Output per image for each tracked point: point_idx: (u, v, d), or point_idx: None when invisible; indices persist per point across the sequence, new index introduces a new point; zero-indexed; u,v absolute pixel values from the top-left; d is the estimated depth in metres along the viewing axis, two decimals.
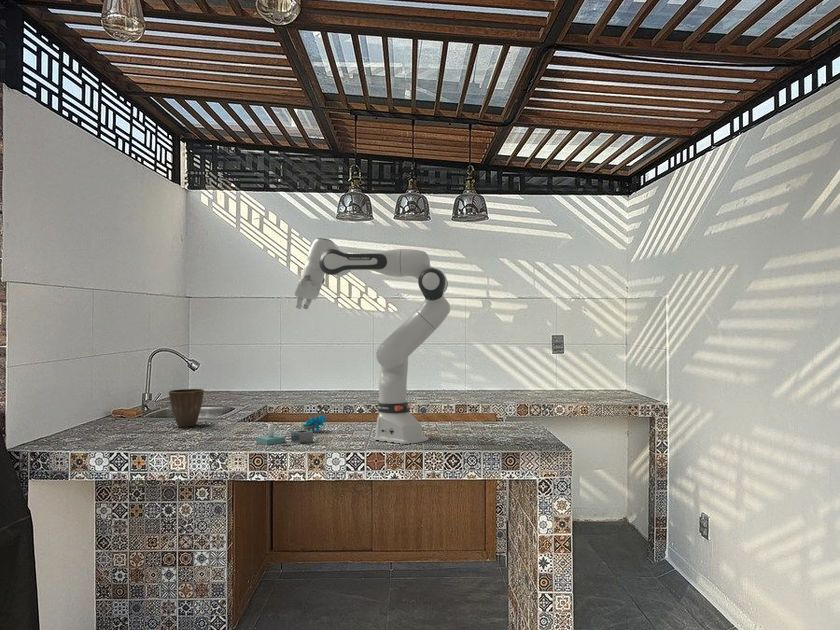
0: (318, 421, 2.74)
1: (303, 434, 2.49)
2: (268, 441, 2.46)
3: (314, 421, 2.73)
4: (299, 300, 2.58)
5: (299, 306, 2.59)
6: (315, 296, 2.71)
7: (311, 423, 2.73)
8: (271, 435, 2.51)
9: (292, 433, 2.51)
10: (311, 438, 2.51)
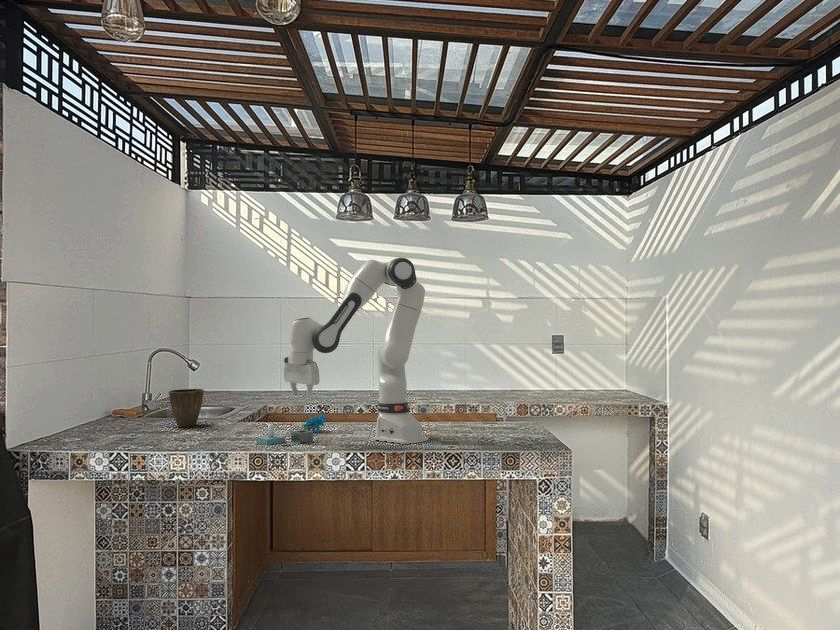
0: (318, 421, 2.74)
1: (303, 434, 2.49)
2: (268, 441, 2.46)
3: (314, 421, 2.73)
4: (310, 387, 2.47)
5: (310, 393, 2.48)
6: None
7: (311, 423, 2.73)
8: (271, 435, 2.51)
9: (292, 433, 2.51)
10: (311, 438, 2.51)
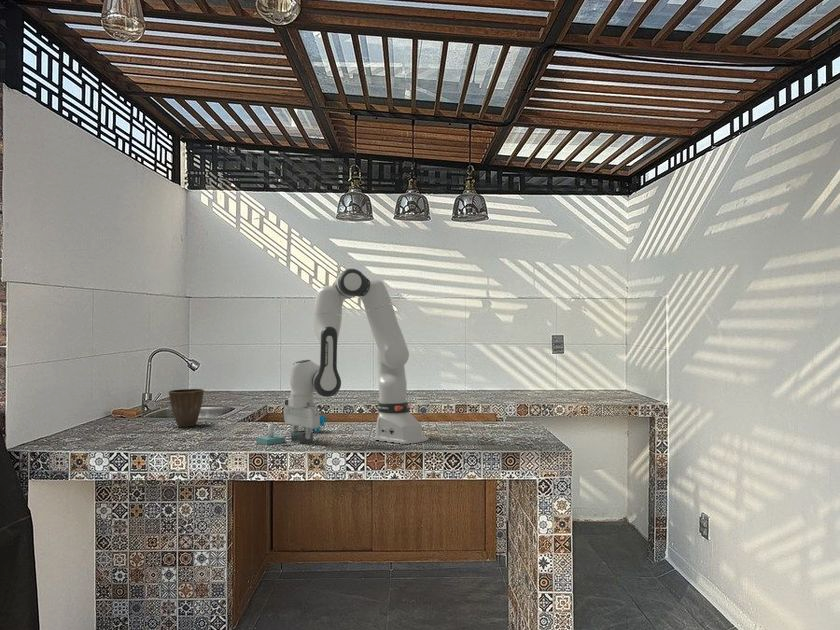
0: None
1: (303, 434, 2.49)
2: (268, 441, 2.46)
3: None
4: (309, 430, 2.48)
5: (309, 436, 2.49)
6: None
7: None
8: (271, 435, 2.51)
9: (292, 433, 2.51)
10: (311, 438, 2.51)
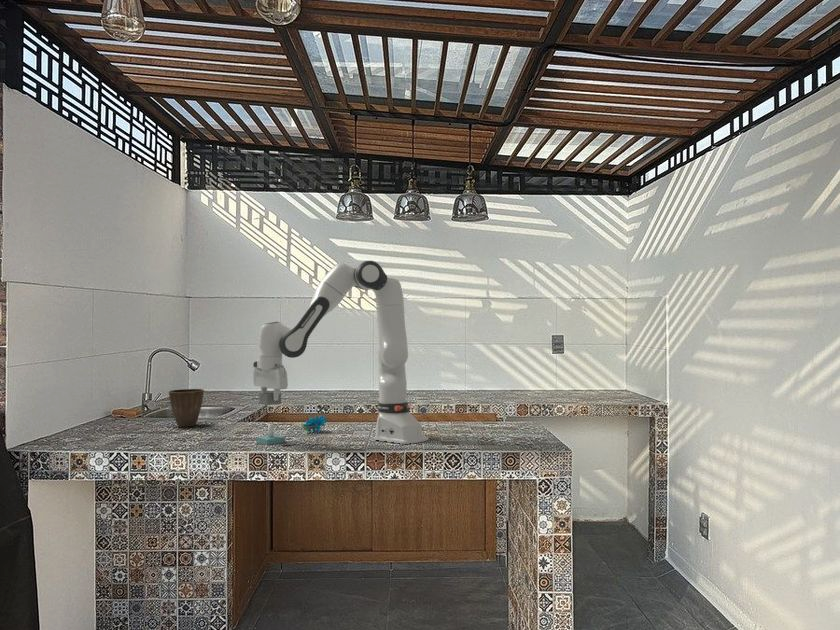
0: (318, 421, 2.74)
1: (271, 395, 2.49)
2: (268, 441, 2.46)
3: (314, 421, 2.72)
4: (277, 392, 2.48)
5: (277, 397, 2.49)
6: None
7: (311, 423, 2.72)
8: (271, 435, 2.51)
9: (260, 395, 2.51)
10: (279, 400, 2.51)
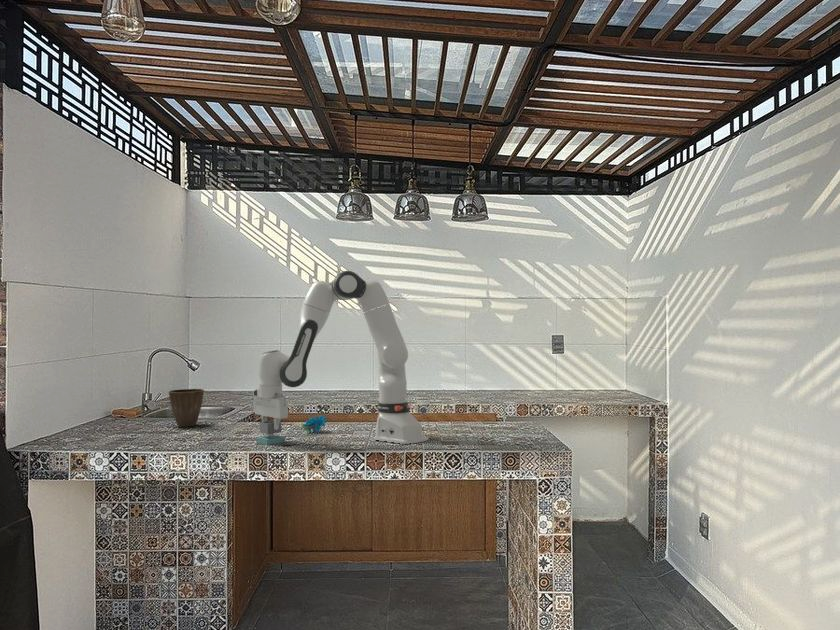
0: (318, 421, 2.74)
1: (271, 424, 2.49)
2: (268, 441, 2.46)
3: (314, 421, 2.72)
4: (277, 421, 2.48)
5: (277, 426, 2.49)
6: None
7: (311, 423, 2.72)
8: (271, 435, 2.51)
9: (260, 423, 2.51)
10: (279, 428, 2.51)
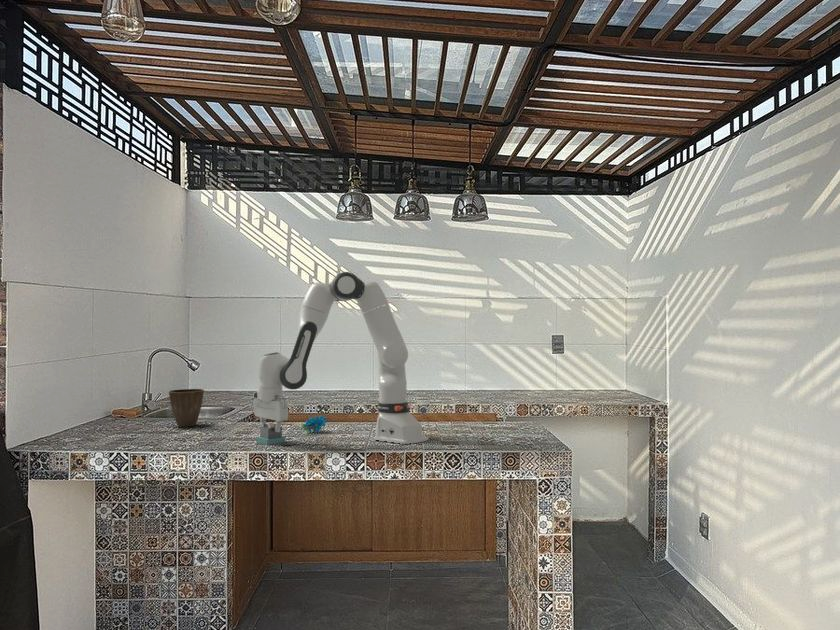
0: (318, 421, 2.73)
1: (272, 429, 2.49)
2: (268, 441, 2.46)
3: (314, 421, 2.72)
4: (279, 423, 2.47)
5: (279, 429, 2.48)
6: None
7: (311, 423, 2.72)
8: None
9: (261, 428, 2.51)
10: (280, 433, 2.51)
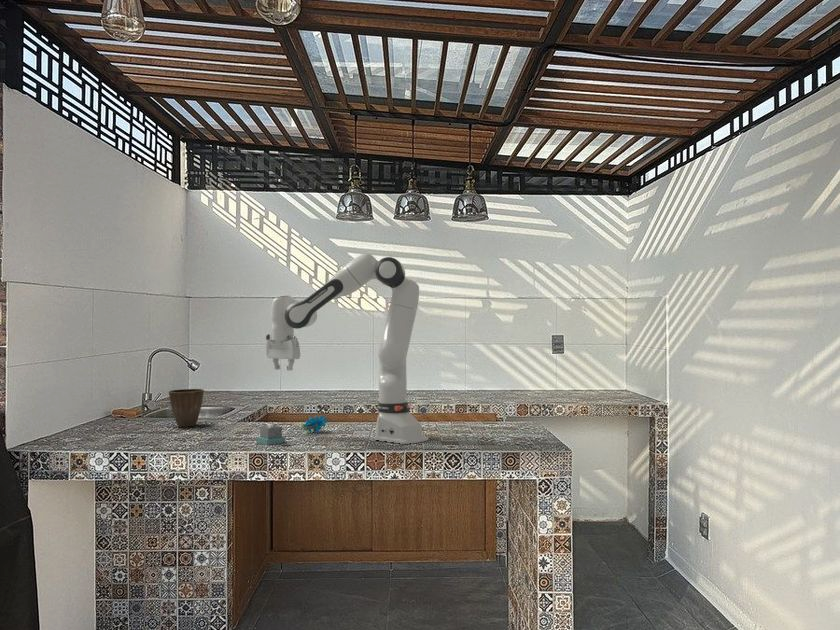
0: (318, 421, 2.73)
1: (272, 429, 2.49)
2: (268, 441, 2.46)
3: (314, 421, 2.72)
4: (291, 362, 2.59)
5: (291, 368, 2.60)
6: None
7: (311, 423, 2.72)
8: None
9: (261, 428, 2.51)
10: (280, 433, 2.51)
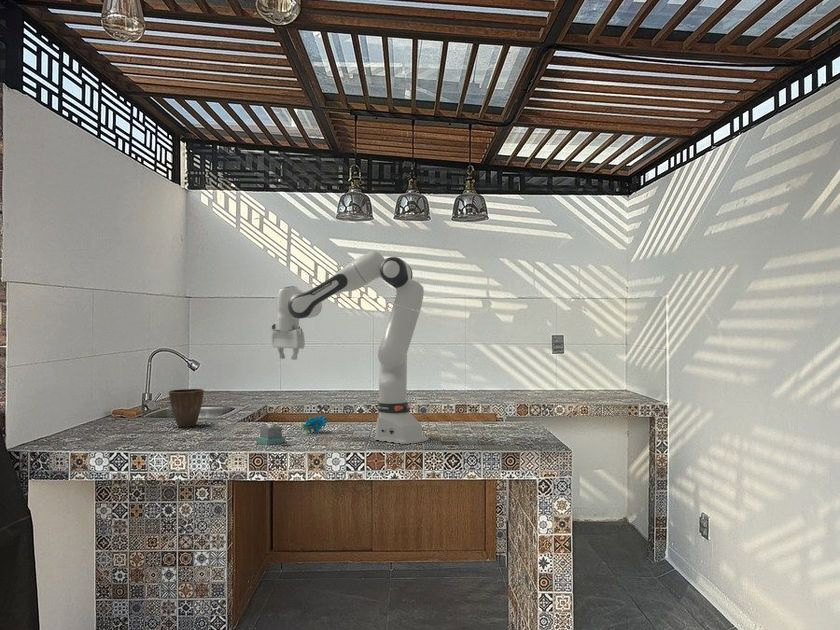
0: (318, 422, 2.73)
1: (272, 429, 2.49)
2: (268, 441, 2.46)
3: (314, 421, 2.72)
4: (296, 351, 2.64)
5: (296, 357, 2.65)
6: None
7: (311, 423, 2.72)
8: None
9: (261, 428, 2.51)
10: (280, 433, 2.51)
